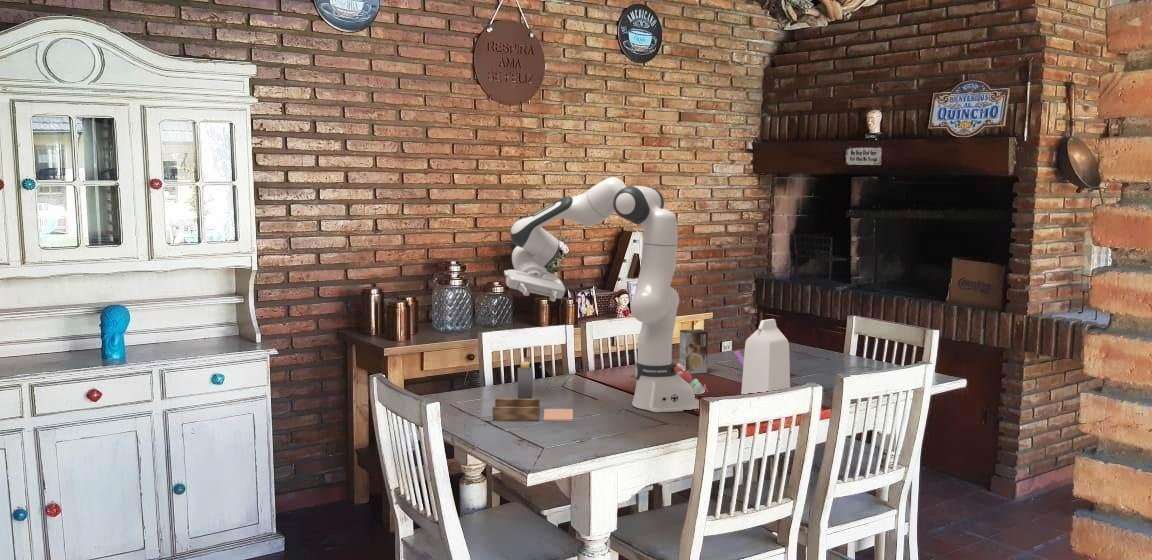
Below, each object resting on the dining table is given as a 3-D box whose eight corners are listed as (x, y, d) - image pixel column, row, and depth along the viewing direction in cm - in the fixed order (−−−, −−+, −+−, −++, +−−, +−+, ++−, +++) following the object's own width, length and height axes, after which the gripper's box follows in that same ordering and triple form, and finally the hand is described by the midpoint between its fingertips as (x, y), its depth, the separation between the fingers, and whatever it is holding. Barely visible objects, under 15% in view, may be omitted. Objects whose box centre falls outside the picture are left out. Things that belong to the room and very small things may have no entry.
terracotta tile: (572, 410, 285) (572, 409, 285) (573, 421, 273) (573, 419, 273) (544, 410, 285) (544, 408, 285) (543, 421, 273) (543, 419, 273)
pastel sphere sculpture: (626, 393, 310) (626, 367, 309) (652, 379, 331) (653, 355, 330) (694, 402, 298) (695, 375, 297) (717, 387, 319) (718, 362, 318)
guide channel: (539, 411, 284) (539, 398, 284) (538, 420, 273) (538, 407, 273) (495, 410, 284) (495, 398, 284) (492, 420, 273) (492, 407, 273)
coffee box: (700, 369, 347) (701, 328, 345) (707, 373, 341) (708, 331, 339) (678, 370, 344) (679, 329, 342) (685, 374, 338) (686, 332, 336)
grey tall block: (532, 402, 294) (532, 361, 293) (532, 406, 290) (532, 364, 288) (518, 402, 294) (518, 360, 293) (517, 406, 290) (517, 364, 288)
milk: (767, 400, 300) (770, 324, 297) (741, 394, 309) (743, 319, 306) (790, 395, 307) (792, 320, 304) (763, 389, 316) (765, 316, 313)
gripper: (505, 261, 297) (514, 282, 286) (561, 273, 306) (571, 294, 294) (499, 277, 300) (507, 298, 289) (554, 289, 308) (564, 310, 297)
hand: (540, 296), depth 291 cm, fingers open, 8 cm apart
